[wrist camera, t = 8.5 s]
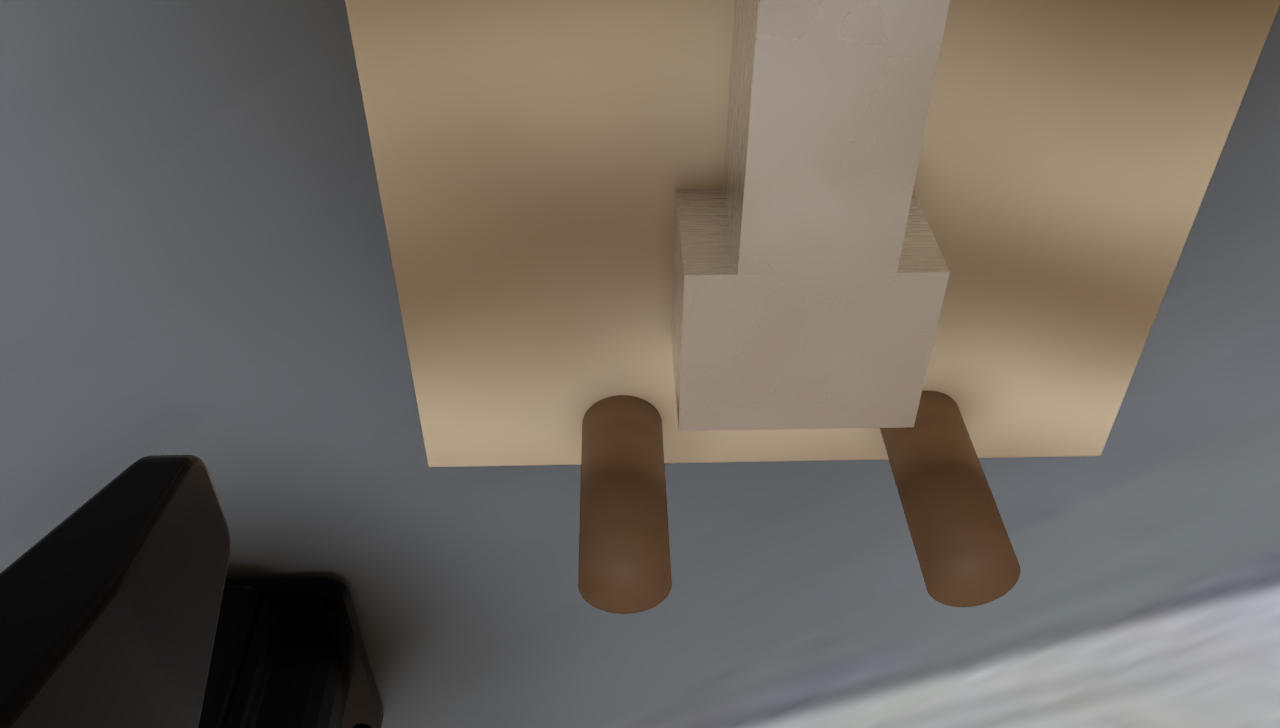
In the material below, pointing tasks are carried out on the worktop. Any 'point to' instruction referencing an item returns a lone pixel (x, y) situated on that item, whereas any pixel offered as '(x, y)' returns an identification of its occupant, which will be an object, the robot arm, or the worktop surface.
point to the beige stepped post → (813, 225)
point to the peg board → (695, 159)
